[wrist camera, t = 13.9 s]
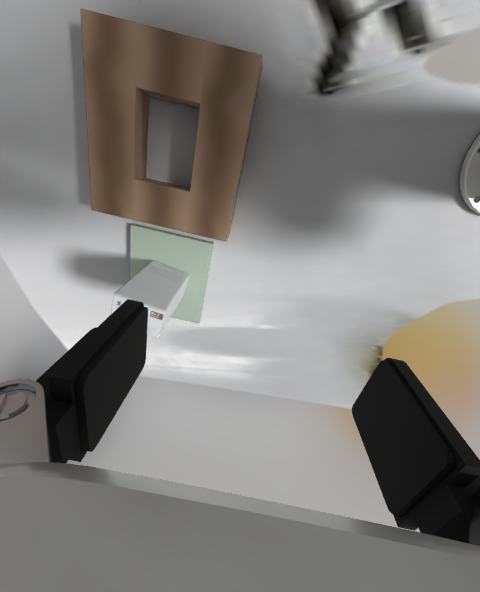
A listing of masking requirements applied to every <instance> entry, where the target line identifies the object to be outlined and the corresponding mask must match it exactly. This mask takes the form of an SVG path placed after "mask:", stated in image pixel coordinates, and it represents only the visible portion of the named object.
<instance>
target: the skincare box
mask: <svg viewBox="0 0 480 592" xmlns="http://www.w3.org/2000/svg"><path fill="white" fill-rule="evenodd" d="M188 278H189V274H188V273H185V272H183V271H180V270H177V269H175V268H172V267H169V266H167V265H164V264H161V263H159V262H156V261H152V262H151V263H150V264H148V265H147V266H146V267H145V268H144V269H142V270H141V271H140V272H139V273H138V274H136V275H135V276H134V277H133V278H132V279H131V280H129V281H128V282H127V283H126V284H125V285H123V286H122V287H121V288H120V289H119V290H118V291H116V292H115V293H114V295H113V302H112V308H111V314H112V313H113V312H114V311H115V310H116V309H117V308H119V307H120V306H121V305H122V304H123V303H124V302H125V301H126V300H127V299H130V300H134V301H139V302H143V303H144V307H147V308H148V324H147V335H149V336H152V337H155V338H159V336H160V335H161V333H162V331H163V330H164V328H165V326H166V324H167V322H168V321H169V319H170V317H171V316H172V314H173V312H174V310H175V309H176V307H177V305H178V304H179V302H180V300H181V298H182V297H183V294H184V291H185V287H186V284H187V281H188Z"/></svg>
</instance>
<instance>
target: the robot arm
mask: <svg viewBox="0 0 480 592" xmlns="http://www.w3.org/2000/svg"><path fill="white" fill-rule="evenodd" d="M460 190H461V195H462V197H463V199H464V201H465V203H466V204H467V205H468V207H469V208H470V209H472V210H473V211H475V212H476V213H478V214H480V134H479V136H478V137H477V138H476V140H475V141H474V142H473V144H472V146H471V147H470V149H469V151H468V153H467V155H466V157H465V160H464V162H463V165H462V169H461V173H460ZM147 324H148V308H147V307H144V303H143V302H139V301H134V300H130V299H127V300H126V301H125V302H124V303H123V304H122V305H121V306H120V307H119V308H117V309H116V310H115V311H114V312H113V313H112V314H111V315H110V316H109V317H108V318H107V319H106V320H105V321H104V322H103V323H102V324H101V325H100V326H99V327H98V328H93V329H92V330H90V331H89V332H88V333H87V334H86V335H85V336H84V337H83V338H82V339H80V340H79V341H78V342H77V343H76V344H75V345H74V346H73V347H72V348H71V349H70V350H69V351H68V352H67V353H65V354H64V355H63V356H62V357H61V358H60V359H59V360H58V361H57V362H56V363H55V364H54V365H52V367H50V368H49V369H48V370H47V371H46V372H45V373H44V374H43V375H42V376H41V377H40V378H38V379H37V380H36V381H33V380H30V379H16V380H9V381H6V382H2V383H0V592H480V460H479V459H478V457H477V456H476V455H475V453H474V452H473V451H472V449H471V448H470V447H469V445H468V444H467V443H466V441H465V440H464V439H463V438H462V436H461V435H460V434H459V432H458V431H457V430H456V428H455V427H454V426H453V424H452V423H451V422H450V420H449V419H448V418H447V417H446V415H445V414H444V412H443V411H442V410H441V409H440V407H439V406H438V405H437V403H436V402H435V401H434V399H433V398H432V397H431V395H430V394H429V393H428V391H427V390H426V389H425V387H424V386H423V385H422V384H421V382H420V381H419V380H418V378H417V377H416V376H415V374H414V373H413V372H412V370H411V369H410V368H409V366H408V365H407V364H406V363H405V362H404V361H401V360H396V359H391V358H386V359H385V360H383V361H381V362H380V363H379V364H378V366H377V368H376V369H375V371H374V372H373V374H372V376H371V377H370V379H369V380H368V382H367V384H366V385H365V387H364V389H363V390H362V392H361V393H360V395H359V397H358V398H357V400H356V401H355V403H354V405H353V407H352V414H353V417H354V420H355V423H356V425H357V428H358V431H359V433H360V436H361V438H362V441H363V443H364V446H365V449H366V452H367V454H368V457H369V460H370V462H371V465H372V468H373V470H374V473H375V476H376V478H377V481H378V484H379V486H380V489H381V491H382V494H383V497H384V499H385V502H386V505H387V507H388V509H389V511H390V512H391V513H392V514H393V515H394V518H395V520H396V523H397V525H398V527H400V528H396V527H391V526H386V525H382V524H377V523H372V522H367V521H363V520H358V519H353V518H349V517H344V516H339V515H334V514H329V513H324V512H320V511H315V510H310V509H305V508H300V507H295V506H290V505H285V504H281V503H276V502H271V501H266V500H261V499H256V498H251V497H246V496H241V495H236V494H231V493H226V492H221V491H216V490H211V489H206V488H201V487H196V486H191V485H186V484H181V483H176V482H171V481H165V480H161V479H156V478H151V477H146V476H140V475H134V474H129V473H122V472H118V471H112V470H106V469H101V468H95V467H89V466H81V465H73V464H66V463H67V461H68V460H73V461H78V462H81V460H82V459H83V457H84V456H85V454H86V452H87V451H90V452H92V451H93V450H94V449H95V447H96V446H97V444H98V443H99V441H100V439H101V437H102V436H103V434H104V433H105V431H106V429H107V427H108V426H109V424H110V422H111V421H112V419H113V418H114V416H115V414H116V412H117V411H118V409H119V407H120V406H121V404H122V402H123V401H124V399H125V397H126V396H127V394H128V392H129V391H130V389H131V388H132V386H133V384H134V383H135V381H136V379H137V378H138V376H139V374H140V373H141V371H142V369H143V367H144V364H145V360H146V342H147ZM418 527H419V529H420V532H421V533H420V532H415V531H410V530H416V529H417V528H418ZM401 528H405V529H410V530H405V529H401Z"/></svg>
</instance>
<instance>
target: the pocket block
mask: <svg viewBox="0 0 480 592" xmlns="http://www.w3.org/2000/svg"><path fill="white" fill-rule="evenodd" d="M81 25H82V43H83V62H84V80H85V98H86V117H87V135H88V153H89V171H90V190H91V208H92V210H94V211H98V212H102V213H106V214H111V215H115V216H119V217H123V218H128V219H132V220H136V221H140V222H145V223H149V224H153V225H158V226H162V227H166V228H170V229H175V230H179V231H183V232H187V233H192V234H196V235H200V236H204V237H209V238H213V239H217V240H221V241H227V239H228V237H229V233H230V228H231V223H232V218H233V213H234V208H235V203H236V198H237V193H238V188H239V182H240V177H241V172H242V167H243V162H244V157H245V152H246V147H247V142H248V137H249V132H250V127H251V121H252V116H253V111H254V106H255V101H256V96H257V91H258V86H259V81H260V76H261V71H262V55H259V54H255V53H251V52H247V51H243V50H240V49H236V48H232V47H228V46H224V45H220V44H216V43H212V42H209V41H205V40H201V39H197V38H193V37H189V36H185V35H182V34H178V33H174V32H170V31H166V30H162V29H158V28H154V27H151V26H147V25H143V24H139V23H135V22H131V21H127V20H123V19H120V18H116V17H112V16H108V15H104V14H100V13H96V12H92V11H89V10H85V9H81ZM149 96H151V97H155V98H159V99H163V100H167V101H171V102H175V103H179V104H183V105H187V106H191V107H195V108H199V109H200V110H199V119H198V127H197V136H196V145H195V153H194V162H193V171H192V179H191V188H190V189H189V188H185V187H181V186H177V185H173V184H168V183H164V182H160V181H156V180H152V179H148V178H146V158H147V132H148V106H149Z"/></svg>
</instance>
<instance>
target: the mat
mask: <svg viewBox="0 0 480 592" xmlns="http://www.w3.org/2000/svg"><path fill="white" fill-rule="evenodd" d="M213 245H214V242H210V241H206V240H202V239H197V238H193V237H189V236H185V235H180V234H176V233H172V232H167V231H163V230H159V229H155V228H150V227H146V226H142V225H138V224H132V225H131V231H130V280H131V279H132V278H133V277H134V276H135V275H136V274H138V273H139V272H140V271H141V270H142V269H144V268H145V267H146V266H147V265H148V264H150V263H151V262H152V261H156V262H159V263H161V264H164V265H167V266H169V267H172V268H175V269H177V270H180V271H183V272H185V273H188V274H189V278H188V281H187V284H186V287H185V291H184V294H183V297H182V298H181V300H180V302H179V304H178V305H177V307H176V309H175V310H174V312H173V314H172V316H171V317H172V318H177V319H181V320H186V321H190V322H195V323H200V321H201V315H202V309H203V303H204V297H205V291H206V286H207V280H208V274H209V268H210V262H211V256H212V251H213Z"/></svg>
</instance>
